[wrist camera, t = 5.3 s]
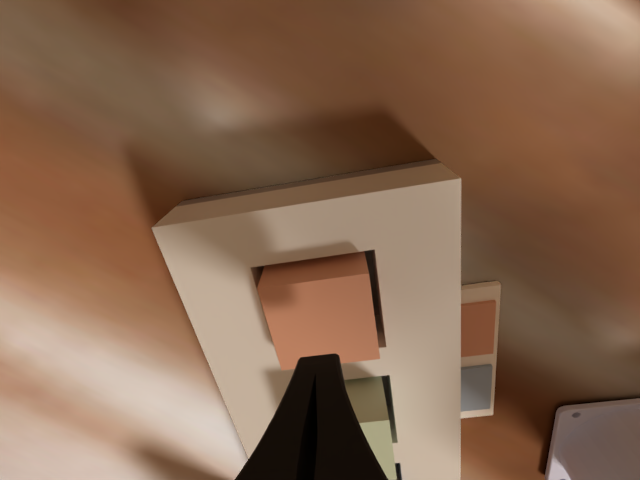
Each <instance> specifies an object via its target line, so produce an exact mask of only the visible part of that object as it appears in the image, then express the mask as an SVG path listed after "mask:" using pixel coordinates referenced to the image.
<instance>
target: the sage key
mask: <svg viewBox="0 0 640 480" xmlns="http://www.w3.org/2000/svg"><path fill="white" fill-rule="evenodd" d="M344 382H345V387H346V391H347V394H348V397H349V399H350V402H351V405H352V407H353V410H354V412H355V415H356V417H357V419H358V422H359V424H360V426H361V428H362V431H363V433H364V435H365V437H366V439H367V441H368V443H369V445H370V447H371V449H372V451H373V453H374V455H375V457H376V459H377V460H378V462H379V464H380V466H381V468H382V469H383V471H384V473H385V475H386V477H387V478H388V480H395V479H397V476H396V468H395V460H394V453H393V445H392V437H391V430H390V422H389V416H388V410H387V405H386V399H385V394H384V388H383V383H382V377H381V376H376V377H367V378H358V379H349V380H344Z"/></svg>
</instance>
